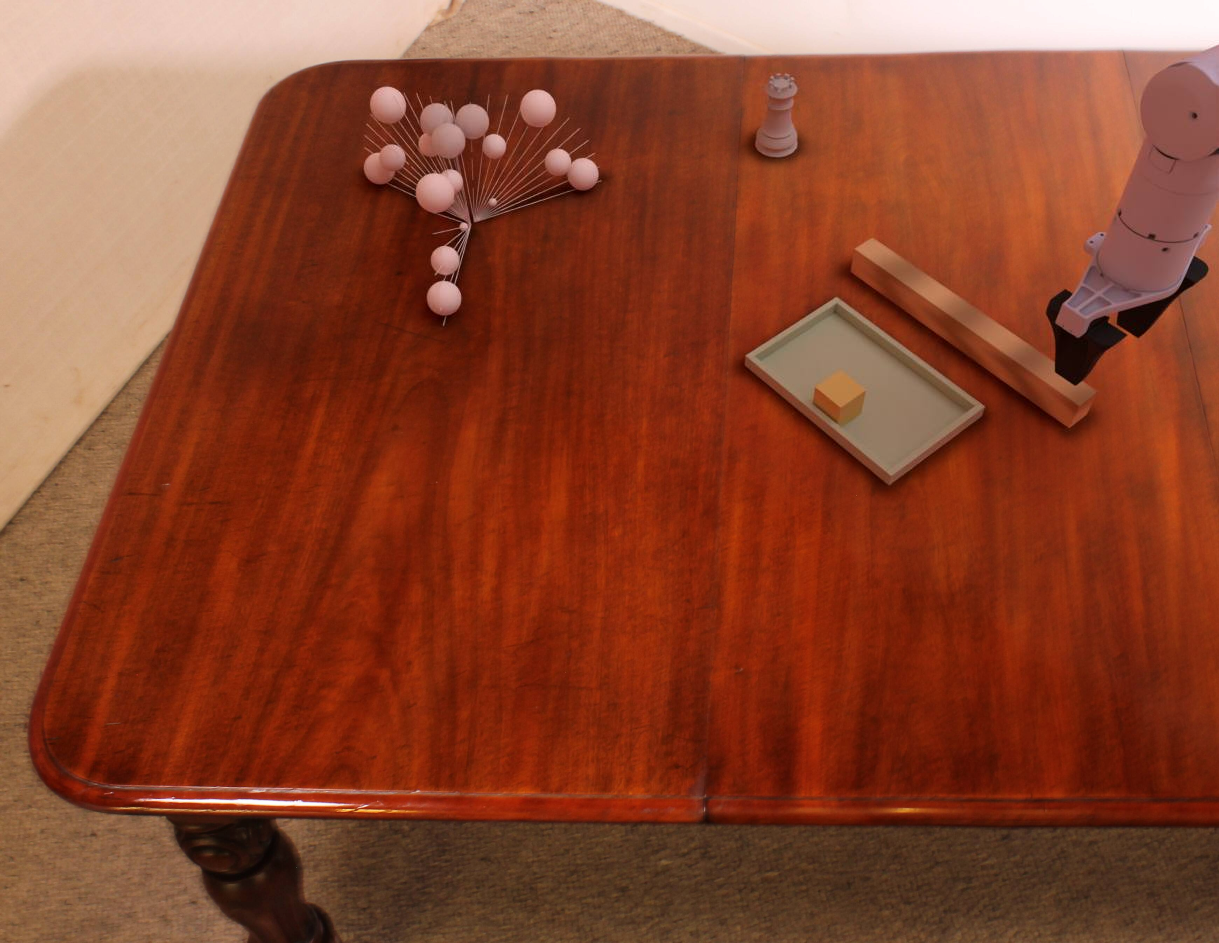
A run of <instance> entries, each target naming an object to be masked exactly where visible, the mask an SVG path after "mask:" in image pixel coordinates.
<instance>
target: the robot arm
mask: <svg viewBox="0 0 1219 943" xmlns="http://www.w3.org/2000/svg"><path fill="white" fill-rule="evenodd" d="M1139 106H1140V120H1141V124H1142V127H1143V129H1144V132H1145V137H1144V139H1143V142H1142V144H1141V146H1140V149H1139V151H1138V154H1137V157H1136V159H1135V161H1134V164H1133V166H1132V169H1131V172H1130V173H1129V176H1128V179H1127V181H1126V183H1125V185H1124V189H1123V191H1122V193H1121V196H1120V198H1119V201H1118V203H1117V205H1116V208H1115V211H1114V213H1113V216H1112V218H1111V220H1110V223H1109V226H1108V228H1107V230H1106V232H1105V231H1098V232H1096V233H1095V234H1093V235H1092V236H1090V237H1089V238H1088V239H1086V241H1085V243H1084V245H1083V250H1084V251H1085V252H1086V253H1088V254H1089V255H1091V260H1090V262H1089V263H1088V265H1087V267H1086V269H1085V271H1084V273H1083V275H1082V276H1081V279H1080V281H1079V282H1078V284H1077V286H1076V289H1075V290H1074V292H1071V291H1070V290H1068V289H1067V288H1064V289H1062V290H1061V291H1059V293H1058V294H1056V295H1054V296H1052V297H1051V299H1050V300H1049V302H1048V304H1047V307H1046V310H1045V315H1046V317H1047V319H1048V321H1049V323H1050V326H1051V329H1052V333H1053V336H1054V351H1055V352H1054V362H1055V373H1057V374H1058V375H1060V376H1061V377H1062V378H1064V379H1065V380H1067V381H1068V382H1070V383H1071V384H1073V385H1074V386H1077V385H1078V384H1079V383H1080V382H1082V381H1083V382H1084V380H1085V379H1087V377H1088V376H1089V375H1090V373H1091V372H1092V371H1093V369H1094V368H1095V367H1096V365H1097V363H1098V362H1099V360H1100V359H1101V358H1102V356H1104V355H1105V353H1106V352H1107V351H1108V350H1110V349H1111V348H1114V347H1115V346H1116V345H1118V344H1119V343H1120V342H1122V340H1124V339H1125V338H1126V337H1128V336H1129V334H1131V335H1132V336H1134V337H1135V338H1137V339H1139V338H1141V337H1142V336H1144V335H1145V334H1146V333H1147V331H1149V330H1150V329H1151V328H1152V327H1153V326H1154V324H1155V323H1156V322H1157V321H1158V320H1159V319H1160V317H1161V316H1162V315H1163V314H1164V312H1166V311H1167V309H1168V308H1169V307H1170V306H1171V304H1173V302H1174V301H1176V300H1177V299H1178V297H1180V296H1181V294H1183V293H1184V292H1186V291H1187V290H1188V289H1190V288H1192V287H1195V285H1196V284H1198V283H1199V282H1200V281H1202V280H1203V279H1205V277H1207V275H1208V273H1209V271H1210V270H1209V269H1210V268H1209V266H1208V264H1207V263H1206V262H1205V261H1204V260H1203V259H1201V258H1199V257H1197V256H1196V255H1195V254H1196V251H1198V250H1200V248H1202V247H1203V246H1204V244H1205V242H1206V240H1207V238H1208V236H1209V234H1210V232H1211V230H1212V228H1213V225H1211V224H1209V221H1210V219H1211V217H1212V216H1213V213H1214V212H1215V209H1216V208H1217V206H1218V203H1219V44H1216V45H1214V46H1212V47H1209V48H1207V49H1205V50H1203V51H1200V52H1198V53H1196V54H1193V55H1191V56H1189V57H1186V58H1185V59H1182V60H1179V61H1177V62H1174V63H1173V64H1170V65H1169V66H1167V67H1166V68H1163V69H1162V70H1159V71H1158V72H1157V73H1156V74H1154V75H1153V76H1152V77H1151V78H1150V79H1149V81H1148V82H1147V84H1146V85H1145V88H1144V89H1143V92H1142V95H1141V99H1140V105H1139ZM1115 313H1117V315H1116V316H1117V317H1116V325H1117V326H1118V327H1119V328H1121V329H1119V328H1118V327H1116V326H1115V325H1113V324H1112V323H1110V322H1109V320H1110V316H1109V315H1112V314H1115ZM1122 329H1123V330H1124V331H1126V332H1127V333H1126V332H1124V331H1123V330H1122ZM1128 333H1129V334H1128Z"/></svg>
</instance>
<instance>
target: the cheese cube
mask: <svg viewBox="0 0 1219 943" xmlns="http://www.w3.org/2000/svg"><path fill="white" fill-rule="evenodd" d="M865 394H866V389H865V388H863V387H862V386H861V385H859V384H858V383H857V382H856V381H854V380H853V379H852V378H851V377H849V376H848V375H847V374H845V373H844V372H843V371H842V370H839V371H838V372H836V373H835V374H833V375H832V376H830V377H829V378H827V379H826V380H824V381H823V382H821V383H820V384H819V385H817V386H816V387H815V390H814V397H813V403H812V404H813V405H815V406H816V407H817V408H818V409H820V410H821V411H822V412H823V413H824V414H826V415H827V416H828V417H829V418H831V419H832V420H833V421H834V422H835V423H837V424H838V425H839V426H840V427H842V426H843V425H845V424H846V423H848V422H849V421H850V420H852V419H853V418H855V417H856V416H858V415H859V414H860V413H861V412H862V408H863V403H864V398H865Z"/></svg>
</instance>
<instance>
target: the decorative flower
mask: <svg viewBox="0 0 1219 943" xmlns="http://www.w3.org/2000/svg"><path fill="white" fill-rule="evenodd" d="M415 94H416V96H417V99H418V101H419V104H420V107H421V109H422V111H421V113H420V118H418V117H417V114H416V113H415V111H414V109H413V107H412V105H411V103H410V102H409V99H408V97H407V95H406V93H405V92H403V93H402V92H400V91H399V90H398V89H396V88H394V87H392V86H381V87H380V88H378V89H376V90H375V91H374V92H373V93H372V95H371V97H370V100H369V107H370V111H371V113H369V115H370V116H371V117H372V118H373V119H374V121H376V122H380V123H378V125H379V126H380V127H381V128H382V130H384V132H385V133H386V134H389V132H388V131H387V130H386V129H385V128H384V127H383V126H382V125H381V123H383V124H388V125H390V126H391V127H392V129H394V130H395V132H396V133H397V134H398V136H399V137H400V138H401V139H402V141H404V143H405V145H407V147H408V148H409V150H410V151H412V153H413V154H414V156H416V158H417V159H418V160H419V162H420V163H421V165H422V166H423V167H424V168H425V170H426V171H427V172H428V173H427V174H426V173H425V171H423V170H421V172H422V173H423V174H424V176H422V175H421V174H420V173H419V172H418V171H417V170H416V169H415V168H414V167H412V169H413V170H414V172H416V174H418V175H419V176H420V177H421V178H420V179H418V178H417V177H416V176H414V175H413V174H412V173H411V172H410V171H409V170H407V169H406V168H405V167H404V166H405V164H406V163H407V164H408V162H407V161H406V160H407V159H406V155H407V156H408V158H410V160H411V161H412V162H413V163H414V164H415V165H416V166H417V167H418V168H419V169H421V167H420V166H419V165H418V164H417V163H416V162H415V161H414V160H413V159H412V158H411V157H410V155H409V154H408V153H407V152H406V151H405V150H404V149H403V147H401V146H400V144H399V143H398V142H397V141H396V139H394V138H393V137H392V136H391V135H389V137H390V138H391V139H392V140H393V141H394V142H395V143H396V144H397V145H396V144H393V143H392V144H386V145H385V146H383V147H382V148H381V147H380V146H379V145H377V144H376V143H375V142H374V141H372V140H371V139H370V138H369V137H368V136H366V135H365V134H364V135H363V136H365V137H366V138H367V139H368V140H369V141H370V142H372V143H373V144H374V145H376V146H377V147H378V148H379V149H380V152H374V153H373V152H372V151H370V149H368V148H366V147H365V146H364V147H363V148H364V149H365V150H367V151H368V152H370V153H371V154H369V155H368V157H366V159H365V161H364V163H363V172H364V175H365V177H366V178H367V179H368V181H370V182H371V183H372V184H375V185H385V184H387V185H389V186H391V187H393V188H396V189H398V190H400V191H403V192H404V193H406V194H409V195H410V196H412V197H415V198H416V200H417V202H418V204H419V206H420V207H421V208H423V209H424V210H425V211H427V212H430V213H432V214H435V215H438V216H441V217H444V218H447V219H450V220H453V221H456V222H459V223H460V224H459V227H456V228H452V229H449V230H447V229H446V230H443V231H438V232H433V233H432V235H436V234H440V233H445V232H449V231H453V230H458V229H460V231H461V232H460V233H458V234H457V235H456V236H455V237H453V238H452V239H451V240H450V241H449V242H447V243H446V244H445V245H442V246H438V247H436V249H434V251H432V254H431V256H430V265H431V267H432V269H433V270H434V271H435V274H434V276H436V275H437V274H439V275H442V276H444V278H443V280H440V281H437V282H435V283H433V284H432V285H431V286H430V288H428V291H427V293H426V302H427V305H428V307H429V308H430V310H431V311H432V312H433V313H435V314H437V315H438V316H445V317H444V320H443V324H442V326H443V327H444V326H445V322H446V318H447V316H451V315H452V314H453V315H454V313H456V312H457V311H458V309H460V306H461V304H462V294H461V291H460V289H459V288H458V286H456V282H457V278H458V275H459V271H460V267H461V264H462V260H463V256H464V253H465V250H466V247H467V246H466V245H467V242H468V238H469V234H470V232H471V227H472V223H471V222H472V221H471V218H470V213H469V207H468V202H467V198H466V197H467V196H466V193H465V188H464V180H463V176H462V172H461V166H460V163H459V162H460V161H459V156H461V160H462V167H463V171H464V172H463V173H464V176H465V181H466V186H467V191H468V192H467V193H470V190H469V184H468V180H467V175H466V170H465V164H464V159H463V154H462V153H463V152H464V149H465V148H466V139H469V140H470V144H471V145H470V146H471V148H470V150H471V151H473V140H477V139H479V138H482V137H483V141H482V144H481V145H482V146H481V147H482V150H481V155H485V156H486V157H488V158H489V164H488V167H487V170H486V171H487V172H486V174H485V178H484V182H483V187H482V190H481V194H480V198H479V201H478V200H476V202H475V195H474V192H475V191H474V189H472V199H473V201H472V200H471V195H470V194H468V197H469V202H470V207H471V213H472V217H473V223H477V222H480V221H483V220H486V219H489V218H492V217H496V216H499V215H502V214H504V213H508V212H511V211H515V210H517V209H520V208H524V207H526V206H529V205H533V204H535V203H538V202H542V201H545V200H548V199H551V198H554V197H557V196H561V195H563V194H566V193H570V192H572V191H576V190H578V191H587V190H590V189H592V188H593V187H594V186H595V185H596V184H597V183H599V182H601V180H599V169H598V168H600V166H597V164H595V162H594V161H592V160H591V159H589V157H591V156H593V155H595V154H596V152H594V153H592V154H591V155H588V156H587V157H580V158H576V159H575V160H573V161H572V159H571V156H570V155H571V154H572V153H573V152H575V151H577V150H578V149H579V148H580V147H582V146H583V145H585V144H586V143H587V142H589V141H590V140H589V139H587V140H586V141H585V142H583V143H582V144H581V145H580V146H578V147H577V148H575V149H574V150H573V151H571V152H569V153H568V152H567V151H566V150H564V149H562V148H560V147H561V146H562V145H563V144H564V143H566V141H568V140H569V139H570V138H571V137H573V135H574V134H576V133H577V132H578V131H579V130H580V129H581V128H578V129H577V130H575V131H574V132H573V133H572V134H571V135H570V136H569V137H568V138H567V139H565V140H564V142H562V143H561V144H559V146H558V147H556V148H554V149H552V150H549V151H548V153H547V154H546V155H545V158H544V159H543V160H542V161H541V162H539V164H538V165H537V166H535V167H534V168H533V169H532V170H531V171H530V172H529V173H528V174H526V175H525V176H524V177H523V178H522V179H520V180H519V182H517V183H516V184H515V185H514V186H513V187H512V188H511V189H510V190H508V191H507V192H506V193H505V194H504V195H503V196H501V198H500V199H498V200H497V198H498V197H499V196H500V195H502V193H503V192H504V191H505V190H506V188H507V187H509V185H510V184H512V182H513V181H514V180H515V179H516V177H518V175H519V174H520V173H521V172H522V171H523V170H524V169H525V168H526V166H527V165H528V164H530V162H531V161H532V160H533V159H534V158H535V157H536V155H538V153H540V151H541V150H542V149H543V148H544V147H545V146H546V144H548V142H549V141H550V140H551V139H552V138H553V137H554V136H555V135H556V133H558V131H559V130H560V129H561V128H562V127H563V126H564V125H565V124H566V122H567V121H568V120H570V117H568V118H567V120H565V122H564V123H562V124H561V126H560V127H559V128H558V129H557V130H556V131H555V133H553V134H552V136H551V137H550V138H549V139H548V140H547V141H546V142H545V144H543V145H542V146H541V148H540V149H539V150H538V151H537V152H536V153H535V155H534V156H533V157H532V158H531V159H530V160H529V161H528V162H527V163H526V164H525V166H523V168H522V169H520V171H519V172H518V173H517V174H516V175H515V177H513V179H512V180H510V182H509V183H508V184H507V185H506V186H505V188H503V190H502V191H501V192H500V193H499V194H498V195H497V197H495V195H496V194H497V192H498V191H499V189H500V188H501V187H502V185H503V184H504V183H505V181H506V180H507V178H508V177H509V175H510V174H511V173H512V172H513V170H514V168H515V167H516V166H517V165H518V163H520V161H521V159H522V158H523V156H524V155H525V153H526V152H527V151H528V149H529V148H530V146H532V144H533V142H534V141H535V140H536V138H537V137H538V136H539V134H540V133H541V132H542V130H543V129H544V127H546V126H548V125H549V124H551V123H552V121H553V120H554V118H555V116H556V114H557V113H556V112H557V106H556V102H555V99H554V98H553V96H552V95H551V94H550V93H549V92H547V91H545V90H543V89H533V90H530V91H528V92H527V93H526V94H525V95H524V96H523V97H522V99H521V101H520V107H519V110H518V113H517V115H516V118H515V121H514V123H513V125H512V128H511V130H510V132H509V135H508V137H507V139H506V140H505V139H504V138H503V137H502V136H501V135H499V131H500V128H501V123H502V119H503V115H504V111H505V108H506V104H507V100H508V96H509V95H508V94H507V95H506V98H505V102H504V105H503V109H502V113H501V117H500V121H499V125H498V129H497V132H496V133H491V134H489V135H487V136H486V133H487V131H488V130H489V127H490V118H489V115H488V110H489V104H487V106H486V110H485V109H484V108H483V107H482V106H480V105H479V104H474V103H469V104H465V105H463V106H462V107H461V108H459V109H458V111H457V113H456V115H455V113H454V112H455V111H454V107H453V103H452V101H450V104H451V109H450V108H449V107H448V106H449V105H448V104H447V103H446V102H444V104H445V105H444V104H442V103H439V102H435V103H433V100H432V96H429V99H430V102H431V104H428V105H426V106H425V107H424V108H423V105H422V103H421V100H420V97H419V96H418V93H417V92H416V93H415ZM406 101H407V102H408V105H409V106H410V109H411V111H412V112H413V115H414V116H415V118H416V120H417V123H418V125H419V127H420V128H421V130H422V132H423V134H422V135H421V136H420V137H419V135H418V134H417V132H416V130H415V129H414V127H413V126H412V124H411V122H410V120H409V119H408V117H407V115H406V110H407V102H406ZM489 101H490V95H488V98H487V103H489ZM451 110H452V111H451ZM519 114H520V115H521V117H522V119H523V120H524V122H525V123H526V125H527V126H526V128H525V130H524V132H523V133H522V135H521V137H520V139H519V141H518V143H517V145H516V146H515V148H514V150H513V152H512V154H511V155H510V157H509V159H508V160H507V162H506V164H505V167H504V168H503V169H502V171H501V173H500V175H499V176H498V178H497V181H496V182H495V184H494V186H493V187H492V189H491V191H490V192H489V195H488V196H487V198H486V195H487V192H488V191H489V188H490V186H491V182H492V181H493V178H494V176H495V173H496V171H497V168H498V166H499V164H500V161H501V159H502V157H503V156H504V155H505V153H506V150H507V144H508V142H509V139H510V137H511V134H512V132H513V129H514V127H515V124H516V122H517V119H518V118H519ZM404 116H405V119H406V120H407V121H408V123H409V125H410V127H411V128H412V130H413V131H414V133H415V135H416V136H417V139H418V146H417V144H415V141H414V140H413V139H412V138H411V136H410V134H408V132H407V130H406V129H405V127H404V126H403V124H402V123H401V122H400V121H401V120H402V118H404ZM419 119H420V120H419ZM395 123H399V125H400V126H401V127H402V129H403V130H404V131H405V133H406V135H407V136H408V137H409V139H410V140H411V141H412V143H413V144H414V146H415V147H416V148H417V150H418V152H419V153H420V155H421V157H423V159H424V160H425V162H426V164H428V166H429V168H430V169H431V170H432V172H433V173H432V172H430V171H429V169H428V168H427V167H426V166H425V164H424V163H423V161H421V159H420V158H419V157H418V156H417V155H416V153H415V152H414V151H413V149H412V148H411V147H410V146H409V145H408V143H407V142H406V141H405V140H404V138H403V137H402V136H401V135H400V133H399V132H398V131H397V129H396V128H395V127H394V126H393V125H392V124H395ZM366 126H367V127H369V128H370V129H371V130H372V131H373V132H374V133H375V134H376V135H377V136H379V138H380V139H381V140H382V141H383V142H385V139H383V138H382V137H381V136H380V135H379V134H378V133H377V132H376V131H375V130H374V129H373V128H372V127H371V126H370V125H369V124H368V123H366ZM529 126H530V127H533V128H541V129H540V130H539V131H538V133H537V135H535V137H534V138H533V140H532V141H531V143H530V144H529V146H528V147H527V148H526V149H525V151H524V152H523V154H522V155H521V156H520V158H519V159H518V161H517V162H516V163H515V164H514V166H513V168H512V169H511V171H509V173H508V174H507V175H506V177H505V179H504V180H503V181H502V182H501V184H500V185H499V187H498V188H497V190H496V191H495V193H494V194H493V195H492V197H491V198H489V197H490V196H491V194H492V192H493V190H494V188H495V187H496V185H497V183H498V181H499V179H500V178H501V176H502V174H503V173H504V172H505V169H506V167H507V165H508V163H509V162H510V160H511V158H512V156H513V155H514V153H515V151H516V149H517V147H518V146H519V144H520V142H521V141H522V138H523V137H524V135H525V133H526V131H527V130H528V128H529ZM483 153H484V154H483ZM437 156H438V157H439V159H438V157H437ZM425 157H429V158H430V160H431V161H432V164H433V165H434V167H435V168H436V170H437V171H436V170H434V169H433V168H432V166H431V165H430V163H429V162H428V160H427V159H426V158H425ZM433 157H436V160H437V162H438V164H439V166H440V168H441V170H442V172H440V171H439V169H438V168H437V165H436V164H435V162H434V161H433V159H432V158H433ZM441 158H442V159H441ZM445 159H447V161H448V163H449V166H450V168H449V169H448V165H447V164H446V161H445ZM451 159H453V163H454V166H455V169H456V170H455V169H453V165H452V162H451ZM492 159H493V160H497V159H498V162H497V164H496V167H495V170H494V172H493V175H492V177H491V179H490V181H489V184H488V187H487V189H486V192H485V195H484V197H483V199H482V196H483V192H484V189H485V185H486V180H487V178H488V173H489V169H490V165H491V162H492ZM439 160H440V161H439ZM482 161H483V156H481V159H480V164H482ZM440 162H441V163H440ZM443 162H444V163H443ZM473 162H474V161H473V160H471V174H472V175H471V176H472V179H474V166H473ZM542 163H544V167H545V169H546V170H545V171H543V172H542V173H540V174H539V175H538V176H536V177H535V178H533V179H532V180H530V181H529V182H528V183H526V184H525V185H523V186H522V187H521V188H519V189H518V190H517V191H515V192H513V193H512V194H511V195H510V196H508V197H506V198H505V199H504V200H503V201H501V202H500V200H501V199H503V198H504V197H505V196H506V195H507V194H508V193H509V192H510V191H512V190H513V189H514V188H516V187H517V186H518V184H519V183H521V182H522V181H523V180H524V179H525V178H527V177H528V175H530V174H531V173H532V172H534V170H535V169H536V168H537V167H539V166H540V165H541V164H542ZM441 164H442V165H441ZM442 166H443V167H442ZM443 168H444V169H443ZM401 169H404V171H407V172H408V174H410V175H411V176H413V177H414V178H415V179H416V180H417V181H418V182H417V183H416V182H414V181H413V180H411V179H410V178H408V177H407V176H406V175H405V174H402V172H400V170H401ZM481 170H482V165H480V168H479V172H481ZM396 172H397V173H399V174H400V175H402V176H403V177H404V178H406V179H408V180H409V181H410V182H412V183H413V184H414V185H416V187H415V188H414V187H411V186H410V185H408V184H406V183H405V182H403V181H402V180H400V179H398V178H396V177H395V174H396ZM547 172H548V173H549V174H550V175H553V176H552V177H550V178H548V179H546V180H545V181H543V182H541V183H540V184H538V185H536V186H534V187H532V188H531V189H529V190H527V191H526V192H524V193H522V194H520V195H519V196H517V197H515V198H514V199H512V200H509V201H508V202H507V203H505V204H503V205H501V204H502V203H504V202H505V201H507V200H508V199H509V198H511V197H512V196H514V195H515V194H516V193H518V192H519V191H521V190H522V189H523V188H525V187H526V186H528V185H529V184H530V183H532V182H533V181H534V180H536V179H537V178H538V177H540V176H541V175H543V174H545V173H547ZM565 174H566V175H567V180H566V181H563V182H561V183H558V184H556V185H554V186H552V187H550V188H548V189H545V190H543V191H540V192H538V193H537V194H534V195H533V196H532V195H531V196H529V197H527V198H525V199H523V200H520V201H518V202H516V203H514V204H511V205H509V206H506V205H507V204H509V203H511V202H513V201H515V200H516V199H518V198H520V197H522V196H524V195H525V194H527V193H529V192H531V191H532V190H534V189H535V188H537V187H540V186H541V185H543V184H544V183H546V182H548V181H550V180H551V179H553V178H555V177H562V176H564V175H565ZM392 179H395V180H397V181H399V182H400V183H401V184H403V185H405V186H407V187H409V188H410V189H412V190H414V191H415V195H414V194H412V193H410V192H407V191H405V190H403V189H401V188H399V187H397V186H395V185H392V184H391V183H389V182H390V181H391V180H392ZM480 180H481V174H479V175H478V181H480ZM567 182H569V184H570V185H571V186H572V187H573V189H571V190H568V191H565V192H561V193H560V194H555V195H553V196H549V197H546V198H543V199H540V200H537V201H534V202H531V203H528V204H524V205H521V206H519V207H516V208H513V209H509V210H506V209H508V208H511V207H512V206H515V205H517V204H519V203H521V202H524V201H527V200H528V199H531V198H532V197H533V198H534V197H535V196H537V195H540V194H542V193H545V192H547V191H549V190H551V189H553V188H555V187H558V186H560V185H562V184H565V183H567ZM477 185H478V186H477V190H479V187H480V183H478V184H477ZM461 193H462V194H461ZM478 196H479V191H477V193H476V198H478ZM494 197H495V198H494ZM485 198H486V200H485ZM481 199H482V202H481ZM484 201H485V202H484ZM487 201H488V202H487ZM498 202H500V203H499V204H498ZM472 203H473V204H472ZM475 203H476V204H475ZM480 203H481V204H480ZM483 203H484V204H483ZM498 206H499V207H498ZM504 206H506V207H505V208H503V209H500V208H502V207H504ZM475 207H477V208H476V209H473V208H475ZM495 208H496V209H495ZM499 209H500V210H499ZM497 210H498V211H497ZM503 210H506V211H503ZM502 211H503V212H502ZM442 212H447V213H448V214H450V215H453V216H454V217H457V218H459V219H460V220H458V219H455V218H453V217H452V218H451V217H449V216H445V215H442V214H440V213H442ZM499 212H500V213H499ZM461 220H464V221H465V222H463V221H461ZM463 233H464V234H463ZM461 234H463V235H462V236H461V238H460V239H459V241H458V242H457V243H456V244H455V246H454V247H451V246H447V245H448V244H450V243H451V242H453V241H454V240H455V239H456V238H457V237H459V236H460V235H461ZM462 239H463V240H462ZM460 241H462V242H461V243H460ZM459 243H460V246H459V248H458V249H457V251H456V248H457V246H458V245H459ZM461 247H462V248H461ZM460 249H461V251H460ZM459 251H460V254H459ZM461 254H462V255H461ZM460 257H461V259H460ZM456 271H457V273H456V277H455V281H454V283H453V282H452V280H453V277H454V274H455V272H456ZM449 275H452V276H451V278H450V281H447V280H445V279H446V278H447V276H449Z"/></svg>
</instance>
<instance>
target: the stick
mask: <svg viewBox="0 0 1219 943" xmlns="http://www.w3.org/2000/svg"><path fill="white" fill-rule="evenodd" d="M852 254H853V255H852V259H851V266H850V271H849V272H850V273H851V274H853V275H854V276H855V277H857V278H858V279H859V280H861V281H862V282H864V283H865V284H867V285H868V286H869V287H871V288H872V289H874V290H875V291H876V292H878V293H879V294H881V295H882V296H883V297H885V298H886V299H887V300H889V301H891V302H892V303H893V304H894V305H895V306H897V307H899V308H900V309H902V311H904V312H906V313H907V314H908V315H910V316H911V317H913V318H914V319H916V320H917V321H918V322H920V323H921V324H923V325H924V326H925V327H927V328H928V329H930V330H931V331H932V332H934V333H935V334H937V335H938V336H939V337H941V338H942V339H943V340H945V341H947V342H948V343H949V344H951V346H953V347H955V348H956V349H958V350H959V352H962V353H963V354H964V355H965V356H967V357H969V359H971V360H973V361H974V362H976V363H977V364H978V365H980V366H981V367H982V368H984V369H986V370H987V371H988V372H990V373H991V374H992V375H993V376H995V377H997V378H998V379H999V380H1001V381H1002V382H1004V383H1005V384H1006V385H1007V386H1009V387H1010V388H1012V389H1013V390H1015V391H1016V392H1018V393H1019V394H1020V395H1021V396H1023V397H1025V398H1026V399H1028V400H1029V401H1030V402H1031V403H1033V404H1035V405H1036V406H1037V407H1039V408H1040V409H1041V410H1043V411H1044V412H1045V413H1047V414H1048V415H1050V416H1051V417H1052V418H1054V419H1055V420H1057V421H1058V422H1059V423H1061V424H1062V425H1064V426H1065V427H1066V428H1067V429H1070V428H1071V427H1073V426H1074V425H1075V424H1076V423H1078V422H1079V421H1080V420H1081V419H1083V418H1084V417H1085V416H1087V415H1088V414H1089V411H1090V409H1091V407H1092V405H1093V403H1094V400H1095V398H1096V396H1097V394H1098V391H1097V389H1095V388H1094V387H1092V386H1091V385H1089V384H1088V383H1086V382H1085V381H1084V380H1083V381H1082V382H1080V383H1079V384H1078V385H1077V386H1074V385H1073V384H1071V383H1070V382H1068V381H1067V380H1065V379H1064V378H1062V377H1061V376H1060V375H1058V374H1057V373H1055V360H1053V359H1051V358H1049V357H1048V356H1046V355H1045V354H1043V353H1042V352H1041V351H1039V350H1038V349H1037V348H1035V347H1034V346H1032V345H1030V344H1029V343H1028V342H1026V341H1025V340H1023V339H1022V338H1021V337H1019V336H1017V335H1016V334H1014V332H1012V331H1010V330H1008V329H1007V328H1006V327H1004V326H1002V325H1001V324H999V323H998V322H997V321H996V320H994V319H993V318H991V317H989V315H987V314H985V313H983V312H982V311H981V310H979V309H978V308H976V307H975V306H974V305H972V304H971V303H969V302H968V301H966V300H964V299H963V298H962V297H960V296H959V295H957V294H956V293H955V292H953V291H951V290H950V289H948V288H947V287H946V286H944V285H943V284H941V283H940V282H938V281H937V280H935V279H934V278H933V277H931V276H929V275H928V274H927V273H925V272H924V271H922V270H921V269H920V268H917V266H915V265H914V264H912V263H910V262H909V261H908V260H906V259H904V258H903V257H902V256H901V255H899V254H897V253H896V252H894V251H893V250H891V248H889V247H887V246H885V245H884V244H882V243H881V242H880V241H878V240H877V239H875V237H870V238H869V239H867V240H865V241H864V242H862V243H861V244H859V245H858V246H856V247H855V248H854V249H853V253H852Z"/></svg>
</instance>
